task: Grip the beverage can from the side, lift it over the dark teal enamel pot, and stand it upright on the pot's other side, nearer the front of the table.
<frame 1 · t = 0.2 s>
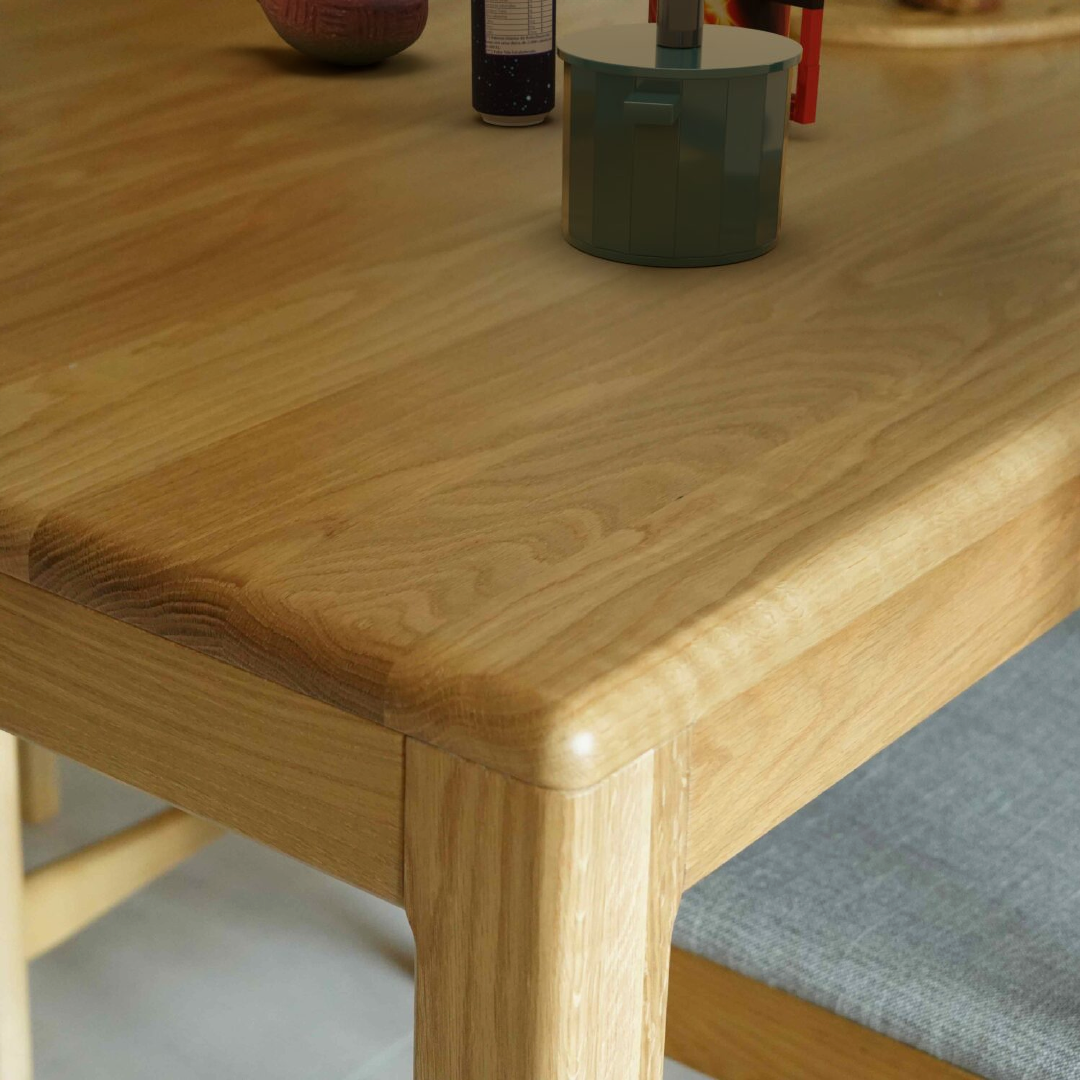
bowl: (328, 65, 130), on the table
pot lid: (678, 54, 84), point 9 cm above the table, touching pot
pot: (670, 234, 89), on the table
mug: (740, 119, 114), on the table
beverage can: (513, 122, 113), on the table
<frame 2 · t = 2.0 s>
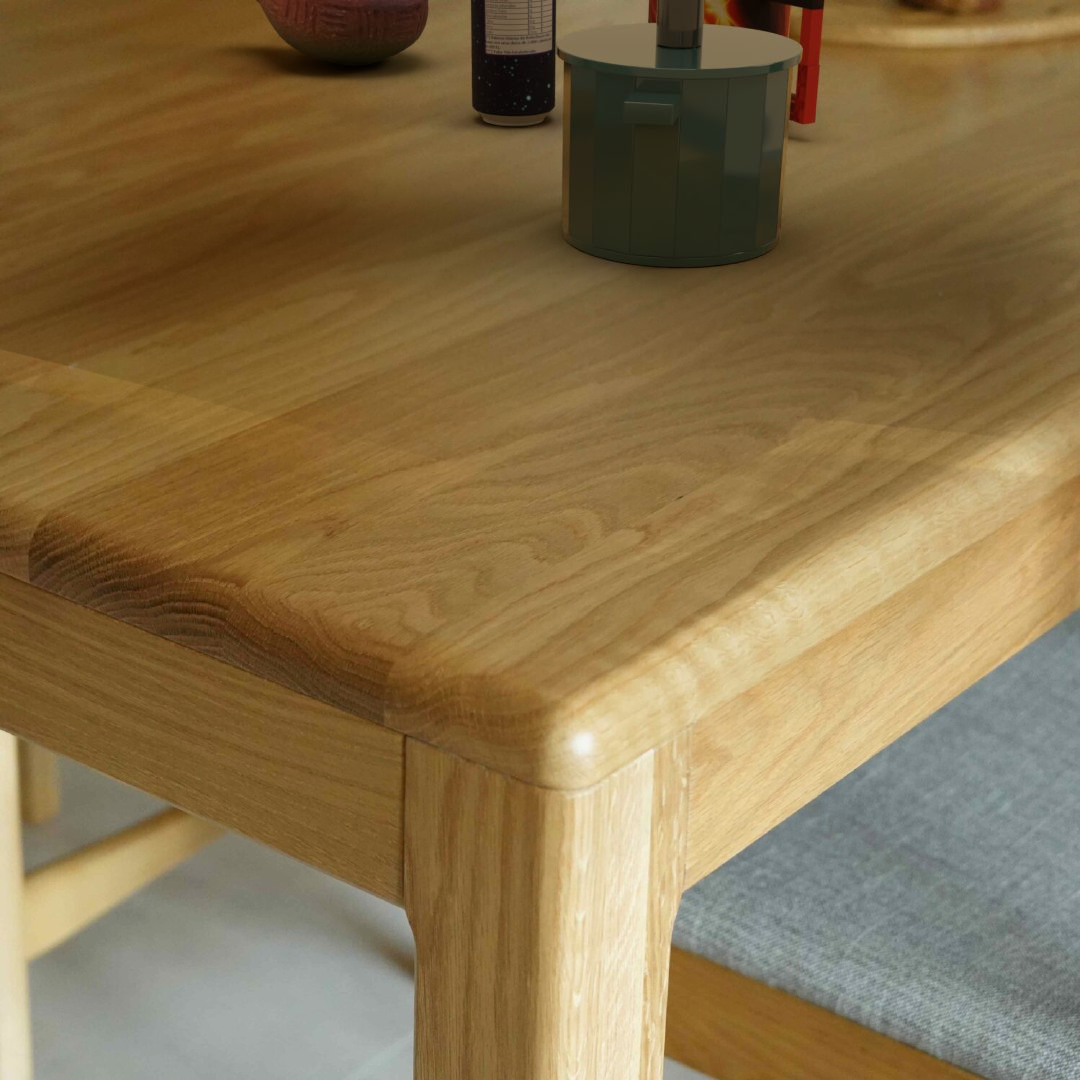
nothing on the table moved.
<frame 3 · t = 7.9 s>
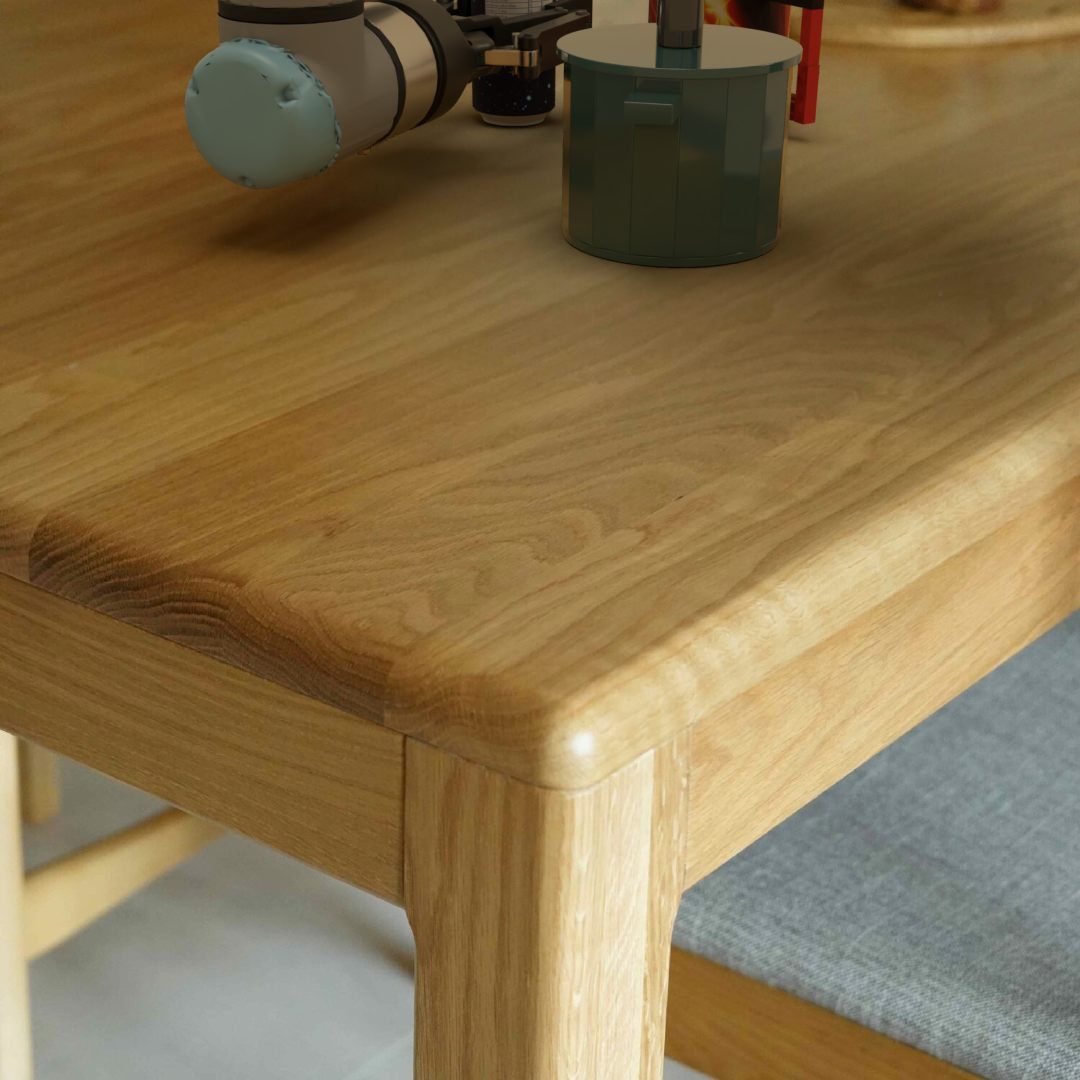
hand: (544, 8, 114), 7 cm above the table, tool horizontal, fingers closed on beverage can, 6 cm apart
beverage can: (513, 122, 113), on the table, touching gripper
everything else where it was.
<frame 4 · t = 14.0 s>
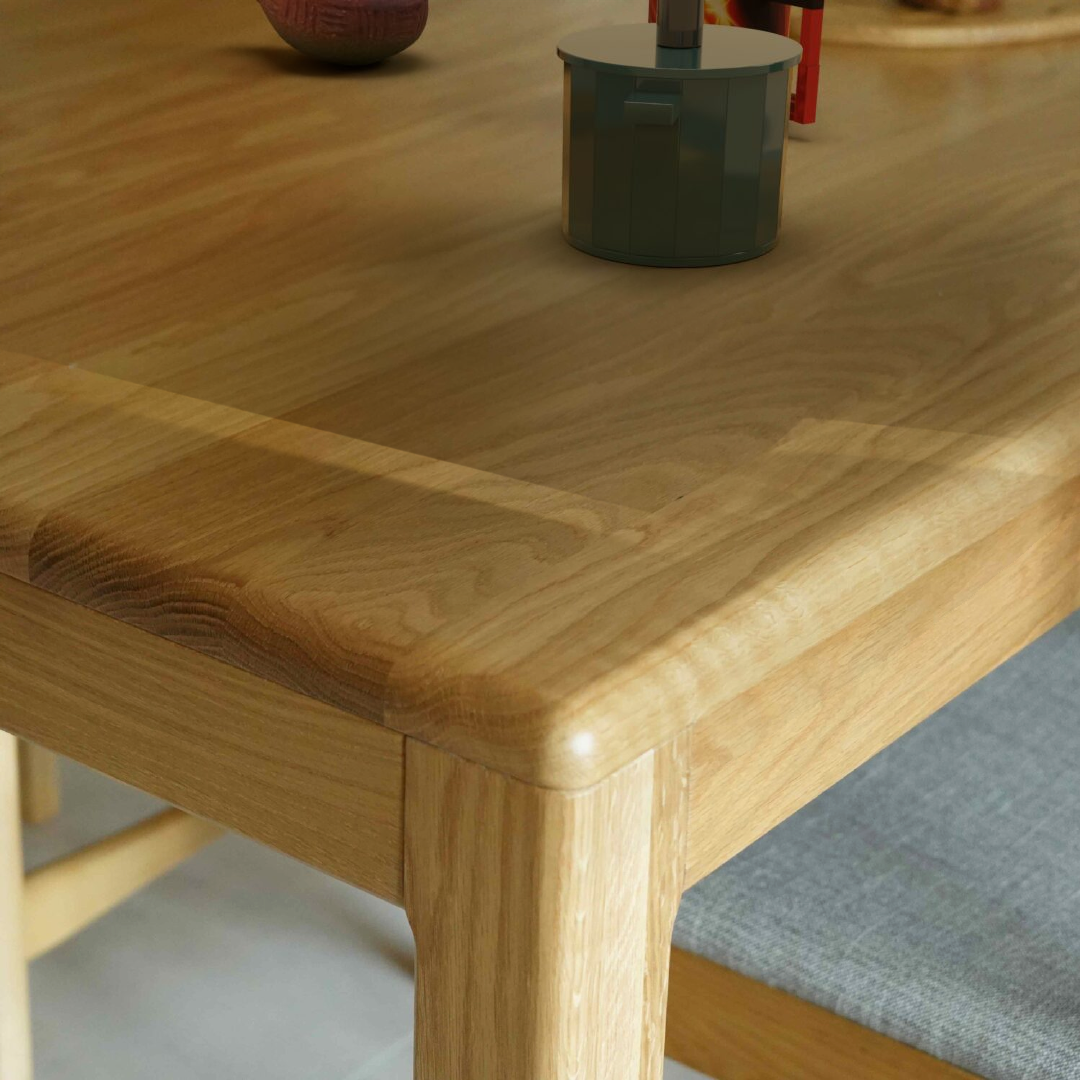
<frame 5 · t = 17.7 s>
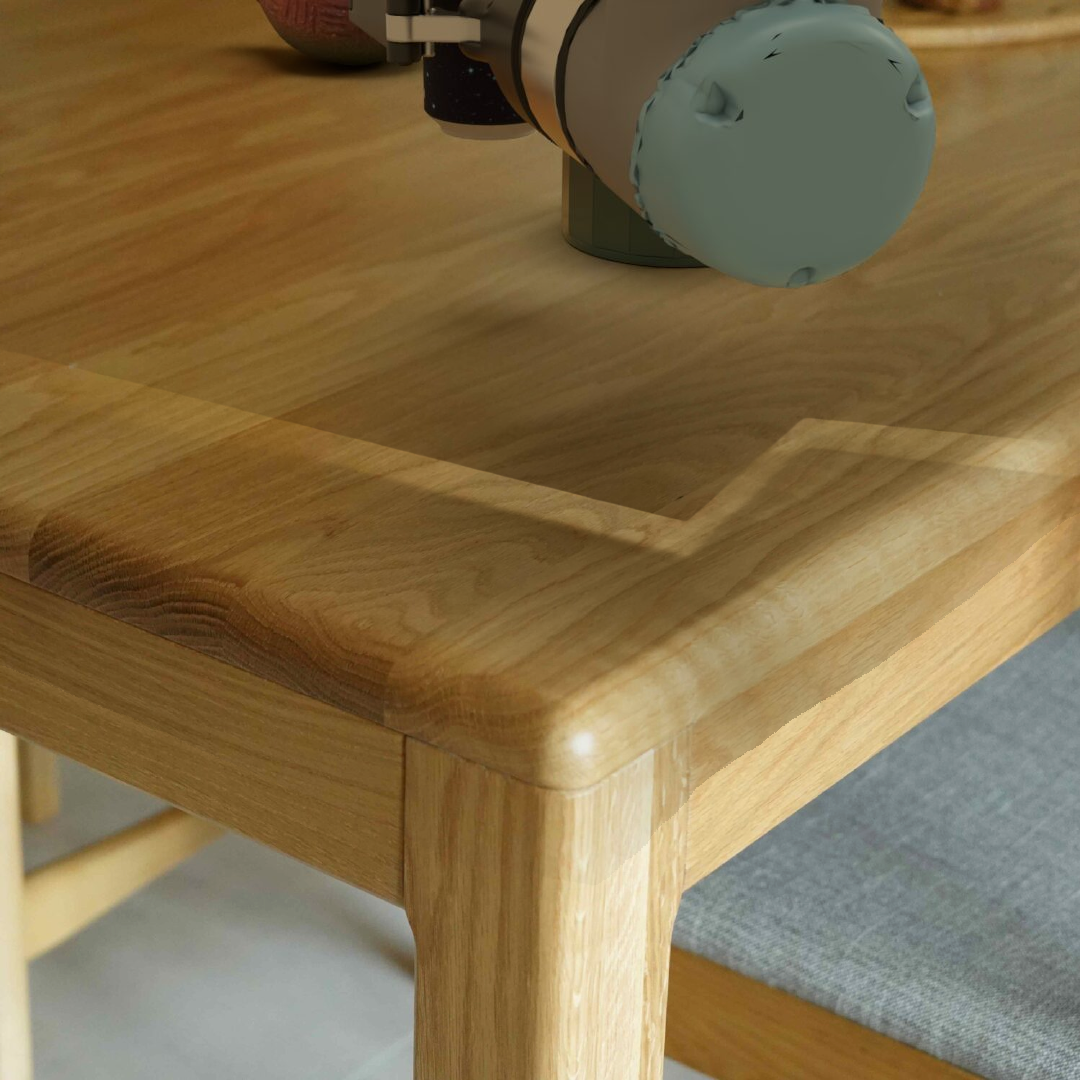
beverage can: (488, 133, 73), point 8 cm above the table, touching gripper
everything else where it was.
when the fingers open (7 cm above the table, at t = 20.3 s): beverage can stays where it is, on the table.
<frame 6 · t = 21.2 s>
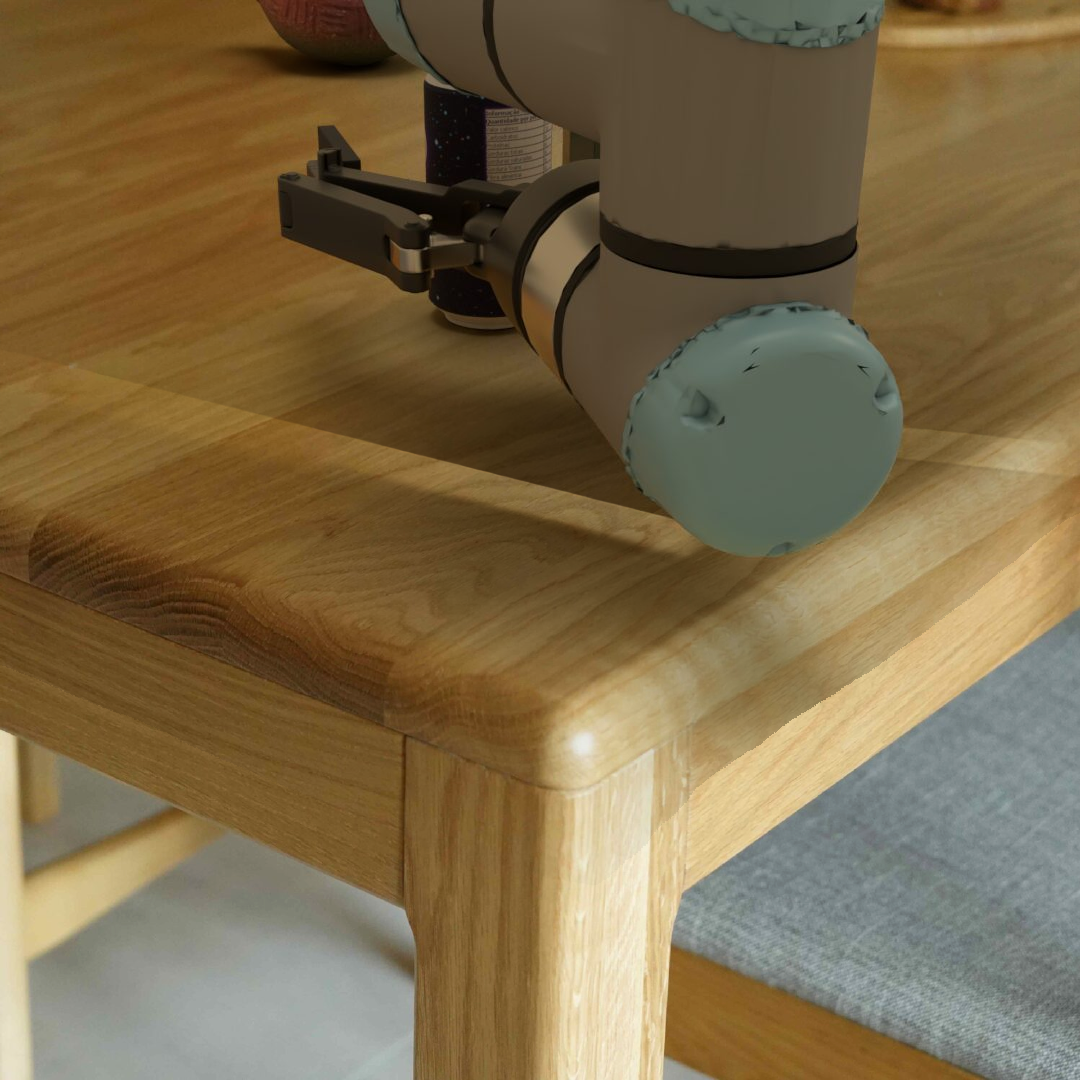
hand: (471, 145, 77), 7 cm above the table, tool horizontal, fingers open, 13 cm apart
beverage can: (489, 318, 77), on the table
everything else where it was.
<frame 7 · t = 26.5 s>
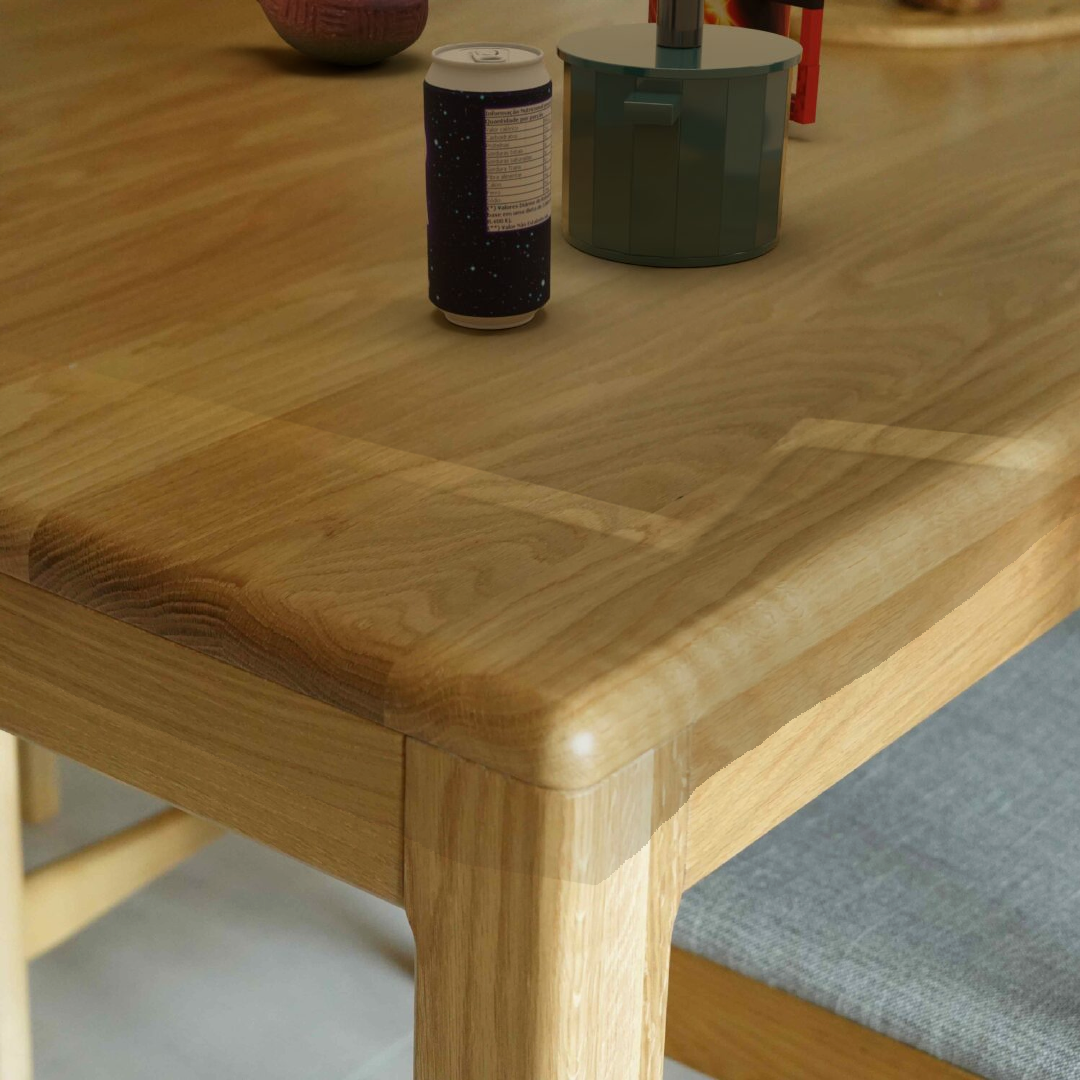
nothing on the table moved.
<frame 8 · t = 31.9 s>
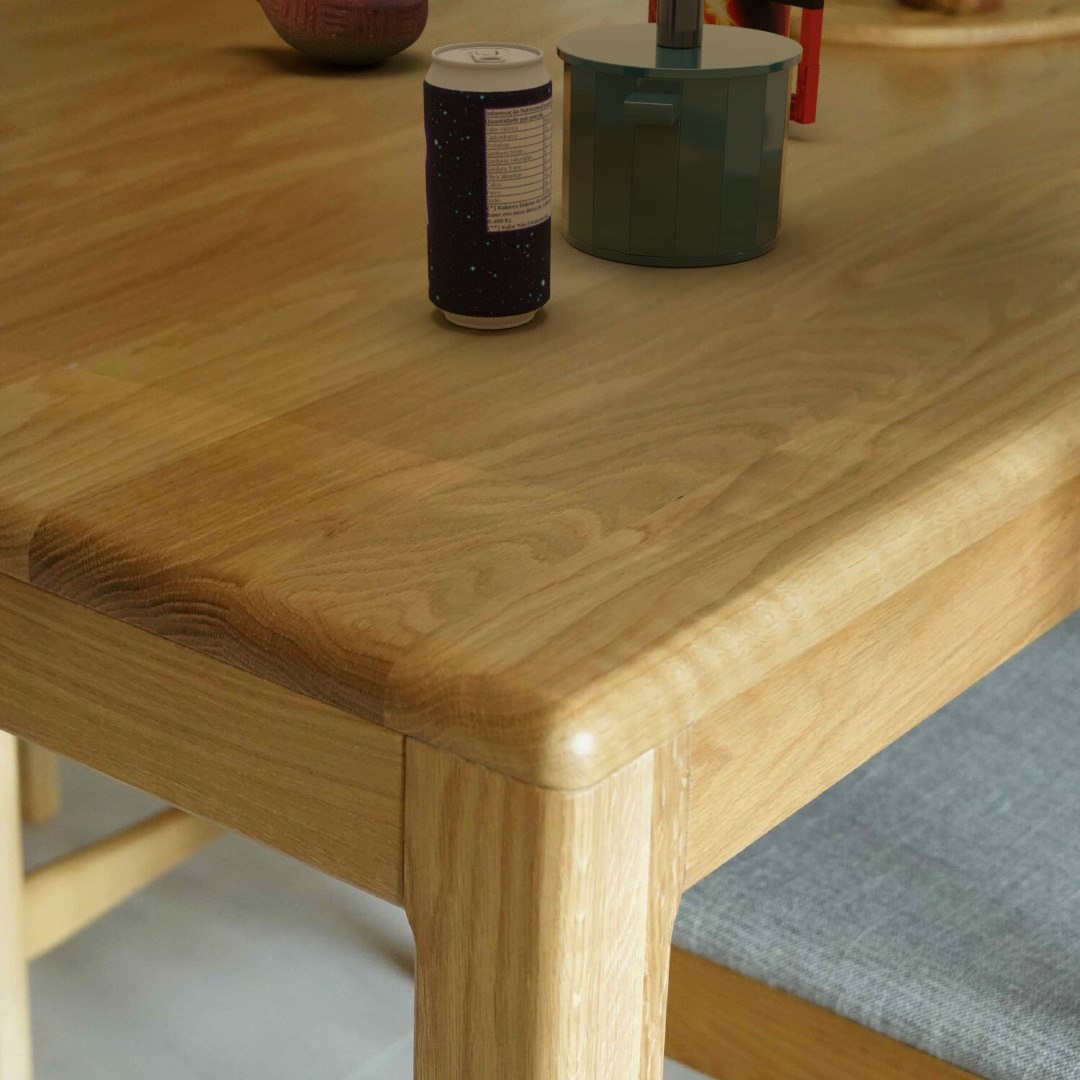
nothing on the table moved.
at the end: beverage can inside the target area on the table beside the pot (0.0 cm from its centre), on the table; beverage can tilted 0°; the gripper is holding nothing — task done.
